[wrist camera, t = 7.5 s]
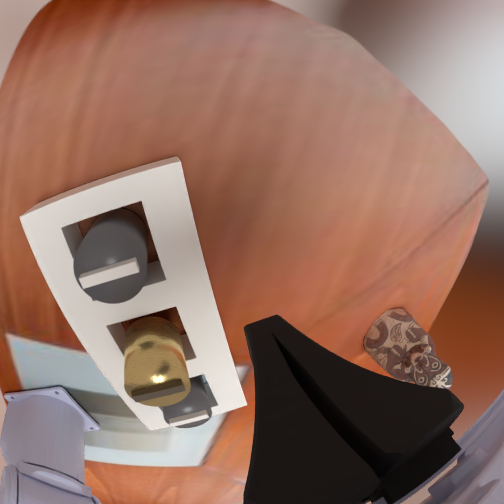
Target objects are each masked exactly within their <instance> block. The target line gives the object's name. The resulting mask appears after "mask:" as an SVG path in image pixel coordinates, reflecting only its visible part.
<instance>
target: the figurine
mask: <svg viewBox="0 0 504 504" xmlns="http://www.w3.org/2000/svg"><path fill="white" fill-rule="evenodd" d="M363 344H364V348H365V350H366V352H367V353H368V354H369V355H370V356H371V358H372V359H373V360H374V361H375V362H377V363H378V364H379V365H380V366H381V367H382V368H383V369H384V370H385V371H386V372H387V373H389V374H390V375H391V376H392V377H394V378H395V379H397V380H400V381H404V382H409V381H414V382H415V384H417V385H423V386H430V387H438V388H446V389H448V390H449V388H450V386H451V385H452V378H453V377H452V372H451V370H450V367H449V366H448V365H447V364H445V363H444V362H443V361H441V360H440V359H439V358H438V357H437V356H436V350H435V345H434V342H433V340H432V338H431V337H430V336H429V334H428V333H427V332H426V331H425V330H424V329H423V328H422V327H421V326H420V325H419V324H418V323H417V322H416V320H415V319H414V318H413V317H412V315H411V314H410V313H408V312H407V311H406V310H404V309H400V308H397V309H393V310H387V311H385V312H384V313H383V314H382V315H381V316H380V317H379V318H377V319H376V320H375V321H374V323H373V325H372V326H371V328H370V329H369V331H368V333H367V334H366V336H365V338H364V342H363Z"/></svg>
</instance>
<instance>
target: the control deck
mask: <svg viewBox="0 0 504 504" xmlns="http://www.w3.org/2000/svg"><path fill="white" fill-rule="evenodd" d="M139 201H142V204H143V208H144V211H145V215H146V218H147V221H148V225H149V228H150V231H151V235H152V238H153V241H154V244H155V247H156V250H157V254H158V257H159V260H157V261H154V262H151V263H147V277H146V281H145V284H144V286H143V288H142V289H141V291H140V292H139V293H138V294H137V295H136V296H135V297H133V298H132V299H130V300H128V301H126V302H123V303H118V304H108V303H103V302H100V301H97V300H95V299H93V298H91V297H90V296H89V295H87V294H86V293H85V292H84V291H83V290H82V289H81V287H80V286H79V284H78V282H77V280H76V278H75V275H74V269H73V262H74V257H75V254H76V252H77V250H78V248H79V246H80V244H81V243H82V241H83V236H82V233H81V231H80V228H79V225H78V221H81V220H84V219H87V218H90V217H92V216H95V215H98V214H101V213H104V212H107V211H110V210H113V209H116V208H120V207H123V206H126V205H129V204H132V203H136V202H139ZM20 220H21V223H22V226H23V229H24V231H25V234H26V236H27V239H28V241H29V244H30V246H31V249H32V251H33V254H34V256H35V258H36V260H37V263H38V265H39V267H40V269H41V271H42V273H43V276H44V278H45V280H46V282H47V284H48V286H49V288H50V290H51V292H52V294H53V295H54V297H55V299H56V301H57V303H58V305H59V307H60V308H61V310H62V312H63V314H64V315H65V317H66V319H67V321H68V322H69V324H70V326H71V327H72V329H73V331H74V332H75V334H76V335H77V337H78V339H79V340H80V342H81V343H82V345H83V346H84V348H85V349H86V351H87V352H88V354H89V355H90V357H91V358H92V360H93V361H94V363H95V364H96V365H97V367H98V368H99V370H100V371H101V372H102V374H103V375H104V376H105V378H106V379H107V380H108V382H109V383H110V384H111V386H112V387H113V388H114V389H115V391H116V392H117V393H118V394H119V396H120V397H121V398H122V399H123V400H124V402H125V403H126V404H127V405H128V406H129V408H130V409H131V410H132V411H133V412H134V413H135V415H136V416H137V417H138V418H139V419H140V420H141V421H142V422H143V423H144V425H145V426H146V427H147V428H148V429H149V430H156V429H160V428H165V427H170V426H171V425H169V424H168V423H166V422H165V420H164V417H163V410H162V407H153V406H147V405H143V404H140V403H138V402H135V401H134V400H133V399H132V398H130V397H129V396H128V394H127V393H126V391H125V388H124V354H125V334H126V331H125V329H124V327H123V325H122V323H121V322H122V321H126V320H129V319H133V318H136V317H140V316H144V315H147V314H151V313H154V312H158V311H161V310H165V309H168V308H172V307H175V306H176V307H177V310H178V313H179V315H180V318H181V320H182V323H183V326H184V328H185V331H186V333H187V334H184V335H180V336H181V341H182V346H183V351H184V356H185V361H186V366H187V370H188V375H189V378H192V377H195V376H199V375H202V374H204V375H205V377H206V380H207V382H208V383H206V384H204V386H205V390H206V393H207V397H208V400H209V403H210V407H211V410H212V416H213V415H217V414H220V413H224V412H227V411H230V410H233V409H237V408H240V407H243V406H246V405H247V403H246V400H245V397H244V394H243V391H242V388H241V385H240V382H239V379H238V375H237V372H236V369H235V366H234V363H233V360H232V356H231V353H230V350H229V347H228V343H227V340H226V337H225V333H224V330H223V326H222V323H221V320H220V316H219V313H218V309H217V306H216V302H215V299H214V295H213V291H212V288H211V284H210V280H209V277H208V273H207V269H206V265H205V262H204V258H203V254H202V250H201V246H200V242H199V238H198V234H197V230H196V226H195V222H194V218H193V213H192V209H191V205H190V201H189V196H188V192H187V188H186V183H185V179H184V174H183V169H182V165H181V161H180V159H179V158H178V157H177V156H175V157H171V158H168V159H164V160H160V161H156V162H153V163H149V164H146V165H142V166H139V167H136V168H132V169H129V170H126V171H123V172H120V173H116V174H113V175H110V176H107V177H104V178H101V179H98V180H96V181H93V182H90V183H87V184H84V185H82V186H79V187H76V188H74V189H71V190H69V191H66V192H63V193H61V194H58V195H56V196H54V197H51V198H49V199H46V200H44V201H42V202H39V203H37V204H36V205H34V206H33V207H32V208H31V209H29V210H28V211H27V212H25V213H24V214H23V215H22V216H20Z"/></svg>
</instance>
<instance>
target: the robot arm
mask: <svg viewBox="0 0 504 504" xmlns="http://www.w3.org/2000/svg"><path fill="white" fill-rule="evenodd" d="M244 332H245V336H246V340H247V345H248V349H249V353H250V357H251V360H252V363H253V366H254V377H255V423H254V436H253V445H252V452H251V459H250V466H249V471H248V476H247V481H246V485H245V490H244V502H243V504H366V503H367V502H369V501H371V503H372V504H400V503H402V502H403V501H405V500H406V499H408V498H409V497H410V496H412V495H413V494H415V493H416V492H417V491H419V490H420V489H421V488H422V487H424V486H425V485H427V484H428V483H429V482H430V481H432V480H433V479H434V478H435V477H436V476H437V475H439V474H440V473H441V472H442V471H444V470H445V469H446V468H447V467H448V466H449V465H450V464H452V463H453V462H454V461H455V460H456V459H457V458H458V459H457V461H458V462H457V465H456V466H454V467H453V468H452V469H451V470H450V471H448V472H447V473H446V474H444V475H443V476H442V477H441V478H440V479H438V480H437V481H436V482H435V483H434V484H433V485H432V486H431V487H429V488H428V491H429V493H430V494H431V496H429V497H428V498H427V499H425V500H424V501H423V502H421V503H420V504H504V390H503V391H502V392H501V394H500V395H499V396H498V397H497V398H496V400H495V401H494V402H493V403H492V404H491V405H490V407H489V408H488V409H487V410H486V411H485V412H484V413H483V415H481V416H480V418H479V419H478V420H477V421H476V422H475V423H474V424H473V425H472V426H471V427H470V428H469V429H468V430H467V431H466V432H465V433H464V434H463V435H462V436H461V437H460V438H459V439H458V440H457V441H456V442H455V440H454V439H453V438H452V437H451V436H452V435H453V434H454V433H453V431H452V430H451V429H450V428H449V427H450V426H451V425H452V423H453V422H454V421H455V419H456V418H457V417H458V416H459V415H460V413H461V412H462V410H463V409H464V405H463V403H462V402H461V401H460V400H459V399H458V398H457V397H456V396H455V395H454V394H453V393H452V392H451V391H450V390H448V389H446V388H438V387H430V386H423V385H417V384H412V383H408V382H404V381H400V380H397V379H394V378H390V377H387V376H384V375H381V374H378V373H375V372H372V371H370V370H367V369H365V368H362V367H360V366H358V365H356V364H353V363H351V362H349V361H347V360H345V359H343V358H341V357H340V356H338V355H336V354H334V353H332V352H331V351H329V350H327V349H326V348H324V347H322V346H321V345H319V344H318V343H316V342H314V341H313V340H311V339H310V338H308V337H307V336H305V335H304V334H303V333H301V332H300V331H299V330H297V329H296V328H294V327H293V326H292V325H291V324H289V323H288V322H287V321H285V320H284V319H283V318H282V317H280V316H279V315H274V316H271V317H268V318H265V319H262V320H259V321H257V322H254V323H251V324H248V325H246V326H245V327H244ZM4 397H5V399H6V400H7V401H8V406H7V410H6V414H5V418H4V423H3V428H2V433H1V438H0V447H1V452H2V456H3V458H4V460H5V462H6V464H7V465H8V466H5V467H4V468H3V471H2V477H1V484H0V504H101V502H100V501H99V500H98V498H97V497H95V496H93V495H92V490H91V487H88V486H85V467H84V437H85V431H94V430H99V429H100V426H99V425H98V424H97V423H96V422H95V421H94V420H93V419H92V418H91V417H90V416H89V415H88V414H87V413H86V412H85V411H84V410H83V409H82V408H81V407H80V406H79V405H78V404H77V403H76V401H75V400H74V399H73V398H72V397H71V396H70V395H69V394H68V393H67V391H66V390H65V389H64V388H62V387H53V388H46V389H39V390H31V391H23V392H14V393H5V395H4Z"/></svg>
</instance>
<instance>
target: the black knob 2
mask: <svg viewBox="0 0 504 504" xmlns="http://www.w3.org/2000/svg"><path fill="white" fill-rule="evenodd" d="M189 379H190V384H191V389H190V392H189V393H188V395H187V396H186V397H185V398H184V399H183V400H181V401H180V402H178V403H175V404H173V405H169V406H162V410H163V417H164V420H165V422H166V423H168V424H169V425H171V426H172V427H178V428H191V427H196V426H199V425H202V424H204V423H205V422H207V421H208V420H209V419H210V418H211V416H212V410H211V407H210V403H209V400H208V397H207V393H206V390H205V386H204V382H203V379H202V375H199V376H195V377H192V378H189Z"/></svg>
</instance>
